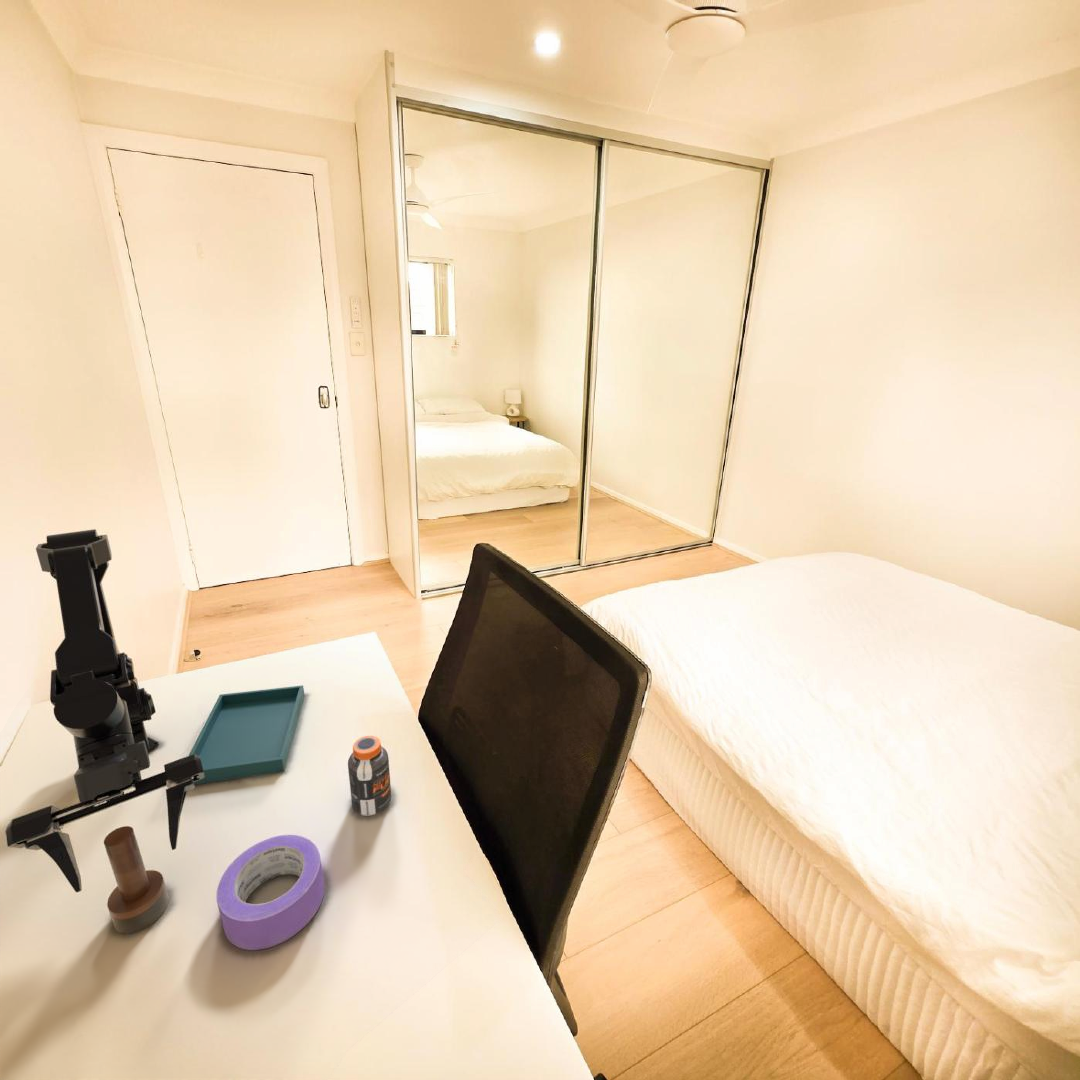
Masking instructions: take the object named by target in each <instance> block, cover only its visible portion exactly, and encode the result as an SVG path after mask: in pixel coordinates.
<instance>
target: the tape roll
mask: <svg viewBox="0 0 1080 1080" xmlns="http://www.w3.org/2000/svg"><path fill="white" fill-rule="evenodd" d="M323 872H324V871H323V866H322V859H321V854H320V851H319V848H318V847H317V845H316V844H315V843H314V842H313V841H311V839H309V838H307V837H305V836H302V835H298V834H282V835H281V834H280V835H276V836H272V837H269V838H266V839H264V840H261V841H259V842H257V843H256V844H254V845H252V846H250V847H249V848H247V849H246V850H244V851H243V852H242V853H240V854H239V855H238V856H237V857H236V858H235V859H234V860H233V861H232V862H231V863H230V864H229V866H228V867H227V868H226V869H225V871H224V872H223V873H222V876H221V878H220V879H219V882H218V885H217V890H216V903H217V908H218V911H219V915H220V919H221V924H222V927H223V931H224V934H225V936H226V938H227V940H228V941H229V942H230V943H231V944H232V945H233V946H235V947H237V948H239V949H242V950H245V951H246V950H248V951H257V950H264V949H268V948H272V947H274V946H277V945H279V944H282V943H283V942H285V941H288V940H289V939H291V938H292V937H294V936H295V935H296V934H298V933H299V932H300V931H302V930H303V929H304V927H306V926H307V925H308V924H309V923H310V921H311V920H312V919H313V917H314V916H315V915H316V914H317V912H318V910H319V909H320V906H321V904H322V903H323V899H324V896H325V888H326V887H325V885H326V884H325V878H324V873H323ZM284 875H293V876H297V877H298V879H297V881H295V883H294V884H293V885H292V886H291V887H290V889H289V890H287V891H286V892H284V893H283V894H282V895H280V896H278V897H277V898H274V899H272V900H269V901H267V902H262V903H248V902H247V900H248V899H249V897H250V896H251V894H252V893H253V892H254V891H255V890H256V889H257V888H258V887H259V886H261V885H262V884H263V883H265V882H267V881H269V880H271V879H273V878H275V877H279V876H284Z"/></svg>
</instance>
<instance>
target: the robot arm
mask: <svg viewBox="0 0 1080 1080" xmlns="http://www.w3.org/2000/svg"><path fill="white" fill-rule="evenodd" d="M108 537H109V536H108V534H98V531H97V529H96V528H94V529H93V528H92V529H85V530H79V531H72V532H64V533H56V534H49V535H46V542H43V543H38V544H37V546H36V547H35V551H36V555H37V559H38V561H39V565H40V568H41V571H42V572H45V573H49V574H50V576H51V577H52V578H53V579H55V581H56V582H55V583H56V587H57V588H56V589H57V594H58V600H59V606H60V607H59V608H60V613H61V619H62V627H63V633H64V634H63V635H64V638H63V640H62V641H61V643H60V644H59V645H58V647H57V648H56V650H55V652H54V659H55V669H52V670H51V671H50V687H49V688H50V689H49V690H50V691H49V700H50V703H51V704H52V706H53V715H54V718H55V720H56V721H57V722H58V723H59V724H60V725H61V726H62V727H63V728H64V729H65V730H66V731H68V733H70V734H71V735H72V736H73V742H74V749H75V754H76V759H77V765H78V768H77V770H76V771H75V773H74V774H73V780H74V783H75V789H76V792H77V796H78V797H77V798H78V803H75V804H71V805H70V806H67V807H64V808H62V809H61V808H60V807H57V806H54V805H49V806H46V807H43V808H41V809H38V810H35V811H32V812H28V813H27V814H24V815H21V816H18V817H15V818H12V819H11V820H10V822H9V823H8V825H7V826H6V827H5V828H6V830H5V837H6V846H7V848H13V849H23V848H25V849H26V850H33V851H39V850H42V851H44V852H45V853H46V855H48V856H49V858H51V860H52V861H53V862H54V863H55V864H56V866H57V867H58V868H59V870H60V871H61V872H62V874H63V875H64V877H65V879H66V880H67V882H68V883H69V885H70V886H71V888H72V889H73V890H74V892H75V893H79V892H81V891H82V890H83V888H82V878H81V873H80V869H79V865H78V862H77V859H76V856H75V851H74V848H73V844H72V840H71V838H70V833H67V832H62V830H63V829H64V827H65V825H69V824H71V823H73V822H76V821H78V820H81V819H84V818H86V817H90V816H91V815H95V814H97V813H100V812H102V811H105V810H108V809H110V808H112V807H115V806H118V805H121V804H123V803H126V802H128V801H131V800H133V799H136V798H139V797H141V796H144V795H147V794H150V793H152V792H155V791H158V790H160V789H162V788H165V787H167V788H166V789H165V795H166V805H167V806H166V807H167V823H168V839H169V844H170V848H171V850H172V851H175V850H176V849H177V845H178V838H179V832H180V831H179V829H180V823H181V816H182V811H183V807H184V804H185V800H186V796H187V793H188V792H190V791H192V790H194V789H195V788H196V786H195V785H196V784H195V785H194V782H195V781H198V780H200V779H202V778H204V777H205V776H204V771H203V767H202V763H201V759H200V756H197V755H195V754H193V755H190V756H189V755H187V756H184V757H182V758H178V759H177V760H173V761H171V762H167V763H165V764H164V765H163V768H164V771H162V772H160V773H157V774H154V775H151V776H148V777H146V778H144V779H142V778H143V777H142V774H141V772H142V771H144V770H147V769H149V768H150V766H151V761H150V760H151V759H150V756H149V753H150V752H151V751H153V750H154V749H156V748H157V747H159V746H160V743H159V741H156V740H154V739H153V738H151V737H148V734H147V730H146V726H145V722H146V721H151V720H152V719H153V718H152V717H153V715H155V714H156V713H157V712H156V707H155V703H154V700H153V697H152V694H150V693H148V692H147V690H145V687H140V686H139V681H138V678H137V677H136V676H135V668H134V667H135V666H134V661H133V659H132V658H130V657H129V656H128V653H126V652H123V651H122V652H120V650H119V647H118V645H117V641H116V636H115V633H114V629H113V625H112V620H111V617H110V612H109V609H108V605H107V600H106V597H105V593H104V588H103V584H102V582H103V579H104V578H105V575H106V574H107V571H108V568H109V566H110V561H112V557H113V555H112V549H111V545H110V541H109V538H108ZM130 789H133V790H132V791H129V792H126V791H128V790H130ZM125 792H126V793H125Z"/></svg>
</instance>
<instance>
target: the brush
mask: <svg viewBox="0 0 1080 1080" xmlns="http://www.w3.org/2000/svg"><path fill="white" fill-rule="evenodd" d="M103 845H104V848H105V851H106V855H107V858H108V860H109V864H110V866H111V869H112V873H113V875H114V879H115V882H116V885H117V886H116V887H115V888H113V890H112V892H111V893H110V894H109V897H108V899H107V903H106V905H107V909H108V912H109V915H110V918H111V920H112V924H113V926H114V929H115V930H116V932H118V933H120V934H125V935H127V934H129V935H130V934H133V933H137V932H140V931H142V930H144V929H147V928H148V927H150V926H151V925H152V924H154V923H155V922H157V920H158V919H160V917H161V916H162V915H163V914H164V912H165V911H166V909H167V908H168V905H169V901H170V897H169V893H168V889H167V885H166V883H165V879H164V876H163V874H162V873H161V872H160V871H158V870H154V869H149V870H146V867H145V864H144V860H143V857H142V853H141V850H140V847H139V843H138V840H137V837H136V833H135V830H134V828H133V827H132V826H129V825H123V826H120V827H117V828H115V829H113V830H111V832H109V833H108V834H107V835H106V836H105V838H104V839H103Z"/></svg>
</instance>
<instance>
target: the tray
mask: <svg viewBox="0 0 1080 1080" xmlns="http://www.w3.org/2000/svg"><path fill="white" fill-rule="evenodd" d="M304 689H305V688H304V685H303V684H301V685H294V686H293V685H292V686H284V687H276V688H266V689H257V690H249V691H248V690H247V691H240V692H230V693H222V694H219V696H218V697H217V700H215V701H216V702H215V703H214V706H213V707H212V709H211V711H210V713H209V715H208V717H207V719H206V721H205V722H204V724H203V727H202V728H201V731H200V732H199V735H198V736H197V738H196V739H195V742H194V744H193V746H192V748H191V750H190V751H189V753H188V756H190V755H193V754H195V755H197V756H200V759H201V763H202V767H203V771H204V776H205V777H204V778H202V779H200V780H198V781H195V782H194V785H202V784H207V783H214V782H220V781H221V782H223V781H229V780H235V779H241V778H250V777H256V776H262V775H263V776H264V775H269V774H275V773H276V774H277V773H282V772H285V771H286V767H287V763H288V759H289V755H290V752H291V749H292V744H293V741H294V737H295V734H296V730H297V727H298V722H299V718H300V714H301V711H302V707H303V704H304V700H305V697H306V696H305V695H306V694H305V690H304Z"/></svg>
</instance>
